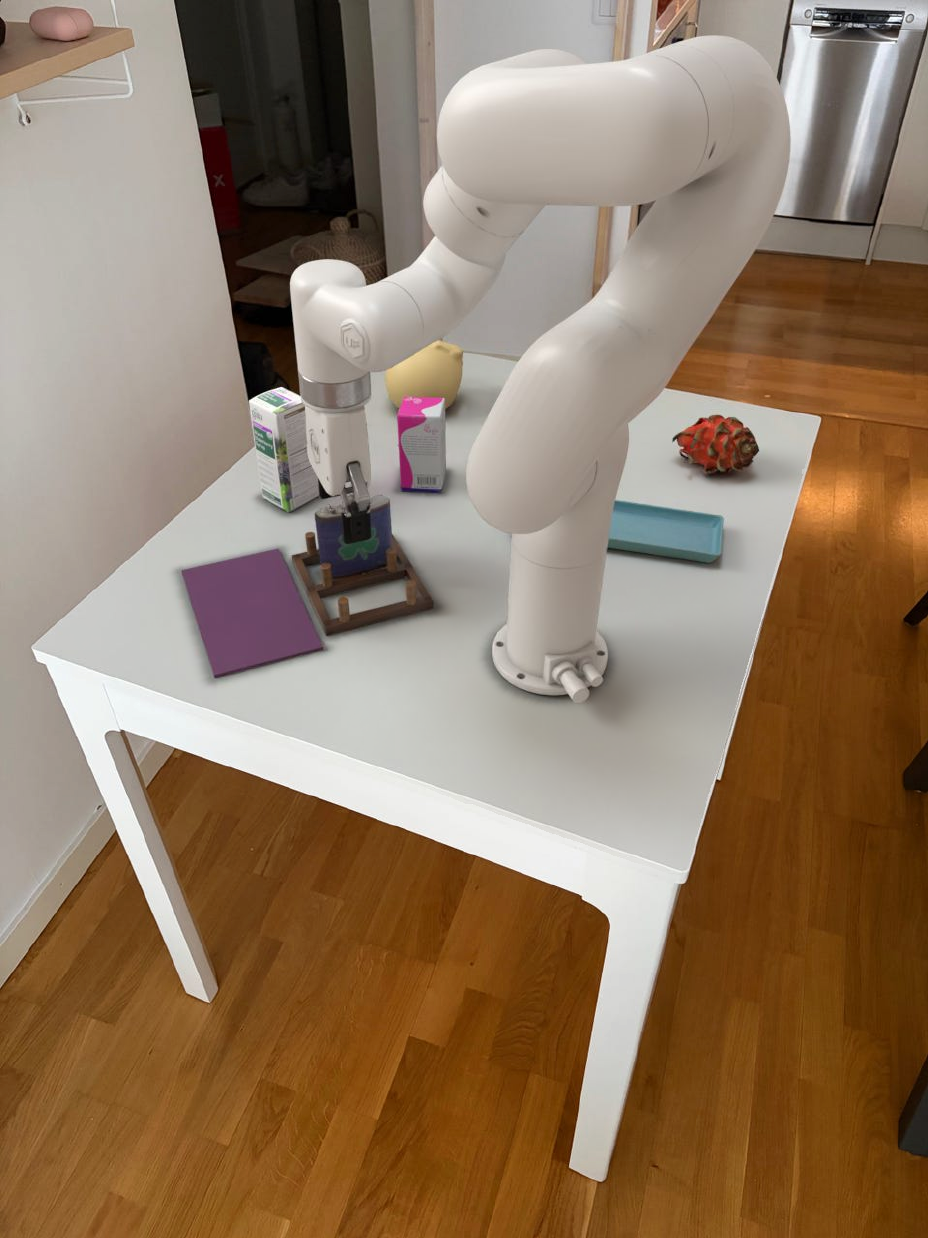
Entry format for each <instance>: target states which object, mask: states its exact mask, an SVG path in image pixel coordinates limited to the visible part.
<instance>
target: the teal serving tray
mask: <svg viewBox="0 0 928 1238" xmlns="http://www.w3.org/2000/svg"><path fill="white" fill-rule="evenodd" d="M724 522H725V518H724V517H723V516H722V515H719V514H714V513H713V514H712V513H707V512H706V513H705V512H700V511H694V510H693V511H692V510H686V509H679V508H673V507H668V506H667V507H666V506H659V505H652V504H646V503H640V502H633V501H626V500H620V499H615V503H614V507H613V513H612V519H611V525H610V532H609V540H608V547H607V549H608V548H609V549H614V550H623V551H626V552H627V551H628V552H635V553H641V554H649V555H654V556H662V557H666V558H667V557H668V558H673V559H681V560H688V561H694V562H700V563H705V564H711V563H712V562H713V561H715V560H717V559H718V558H719V557H720V556H721V555H722V551H723V550H722V549H723V533H724Z"/></svg>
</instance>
